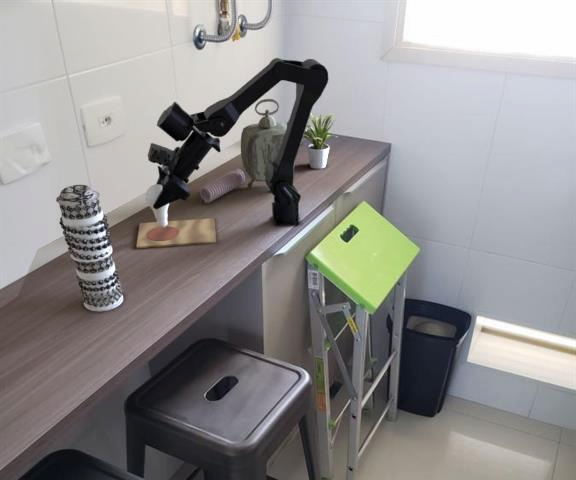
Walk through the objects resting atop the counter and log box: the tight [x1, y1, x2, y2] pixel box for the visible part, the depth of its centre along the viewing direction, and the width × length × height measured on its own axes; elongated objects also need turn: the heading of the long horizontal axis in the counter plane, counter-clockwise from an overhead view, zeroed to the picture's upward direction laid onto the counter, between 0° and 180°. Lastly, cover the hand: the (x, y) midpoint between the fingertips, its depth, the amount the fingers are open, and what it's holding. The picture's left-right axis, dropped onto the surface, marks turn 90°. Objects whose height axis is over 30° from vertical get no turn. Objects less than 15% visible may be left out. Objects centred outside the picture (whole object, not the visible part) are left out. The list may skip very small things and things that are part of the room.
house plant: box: [303, 112, 338, 170], centre depth 187 cm, size 14×14×16 cm
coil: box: [199, 168, 246, 204], centre depth 174 cm, size 5×5×18 cm
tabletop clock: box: [240, 98, 296, 189], centre depth 169 cm, size 14×9×25 cm, turn 108°
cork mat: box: [135, 217, 217, 249], centre depth 154 cm, size 20×14×1 cm
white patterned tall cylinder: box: [55, 184, 124, 313], centre depth 121 cm, size 9×9×25 cm
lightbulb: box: [145, 183, 170, 227], centre depth 149 cm, size 6×6×11 cm
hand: (153, 203), depth 148 cm, fingers closed on lightbulb, 6 cm apart
